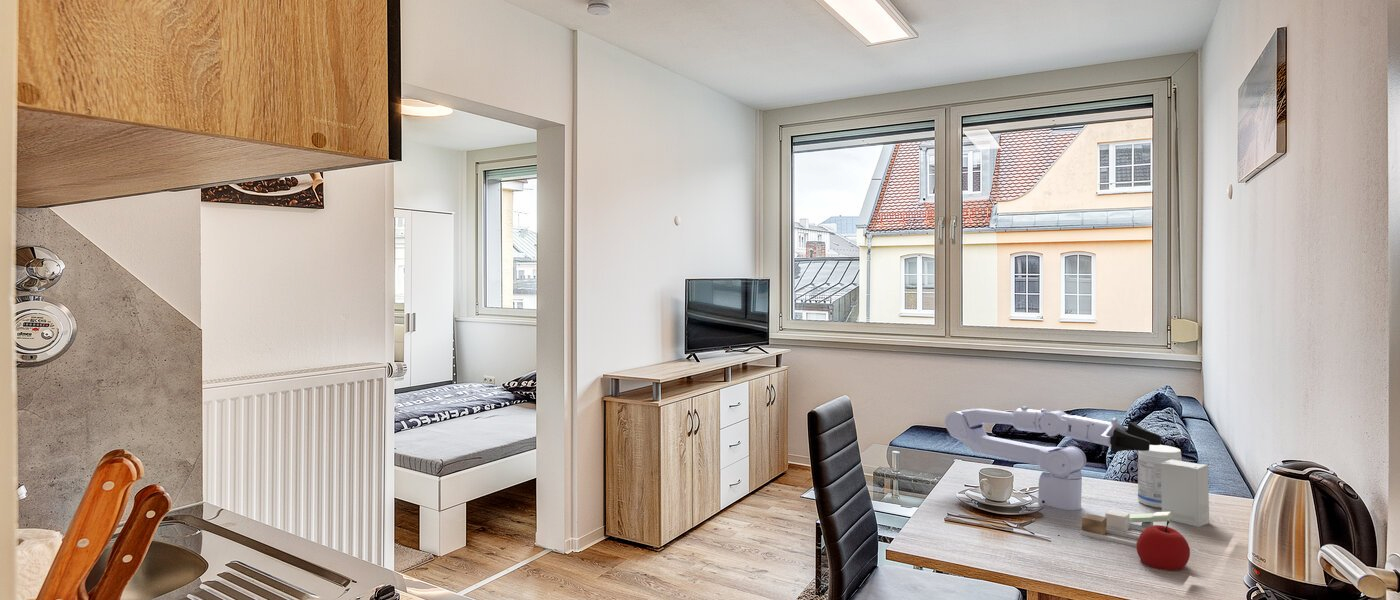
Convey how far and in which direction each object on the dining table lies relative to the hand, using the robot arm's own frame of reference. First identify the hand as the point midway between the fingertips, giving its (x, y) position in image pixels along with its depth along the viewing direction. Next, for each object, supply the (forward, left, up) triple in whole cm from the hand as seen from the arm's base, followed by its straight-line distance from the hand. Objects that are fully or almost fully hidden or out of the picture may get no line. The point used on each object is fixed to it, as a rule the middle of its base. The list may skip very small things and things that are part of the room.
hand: (1155, 443), depth 168 cm
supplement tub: (-4, +25, -21) cm, 33 cm away
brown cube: (-9, -15, -19) cm, 26 cm away
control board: (-4, -8, -21) cm, 22 cm away
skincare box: (+4, +10, -21) cm, 23 cm away
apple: (+6, -25, -21) cm, 33 cm away
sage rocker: (-1, -3, -17) cm, 17 cm away
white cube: (-6, -8, -19) cm, 21 cm away
